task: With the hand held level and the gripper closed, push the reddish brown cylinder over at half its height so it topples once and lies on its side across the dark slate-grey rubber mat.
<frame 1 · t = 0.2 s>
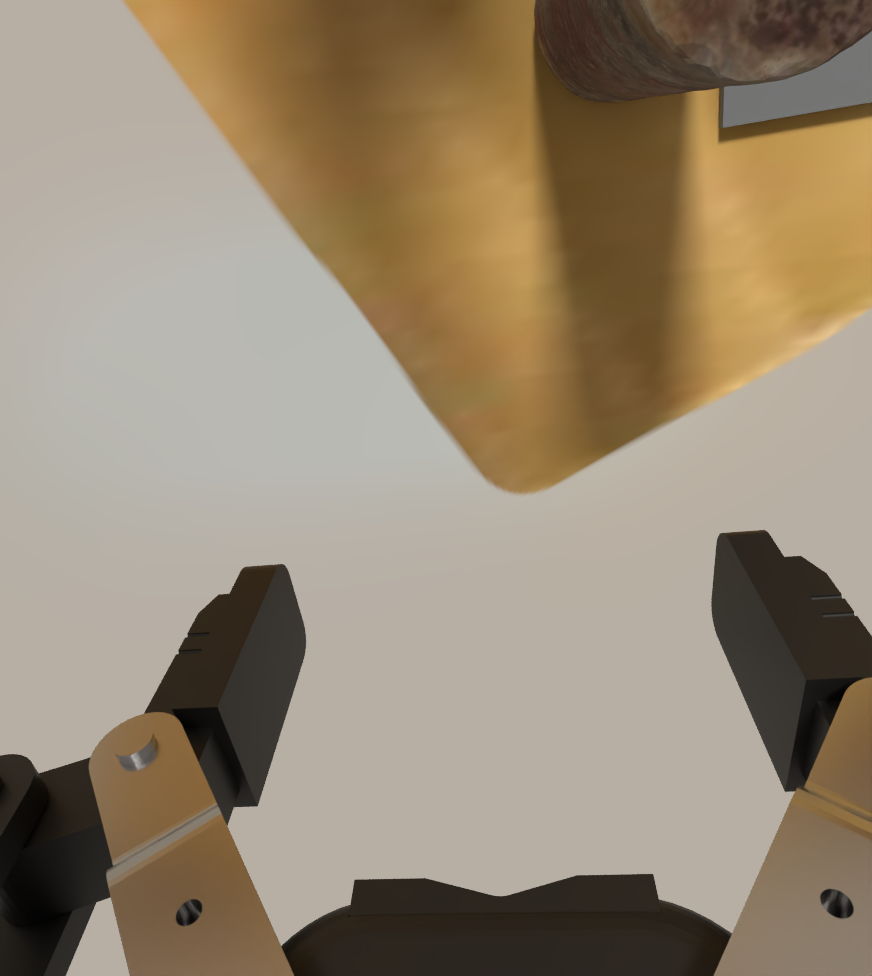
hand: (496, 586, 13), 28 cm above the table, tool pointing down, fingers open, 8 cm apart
reddish brown cylinder: (611, 16, 32), on the table
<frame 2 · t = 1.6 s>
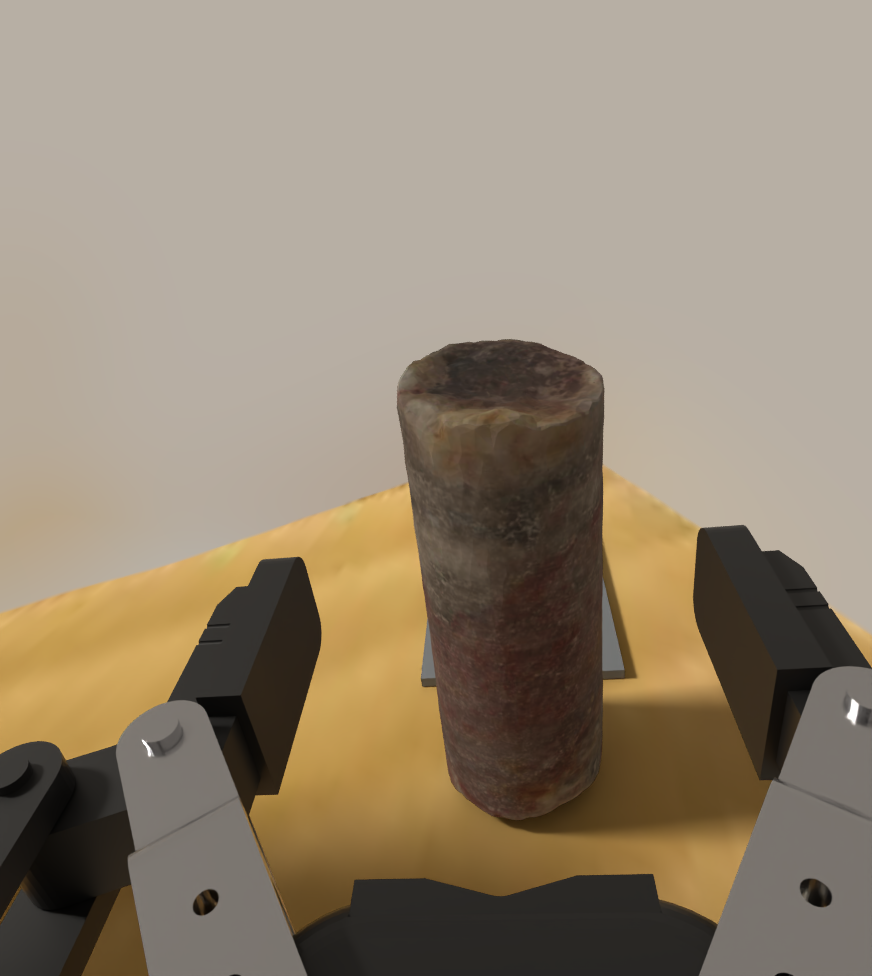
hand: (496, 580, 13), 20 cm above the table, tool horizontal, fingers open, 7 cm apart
reddish brown cylinder: (526, 762, 33), on the table
mat: (516, 599, 43), on the table
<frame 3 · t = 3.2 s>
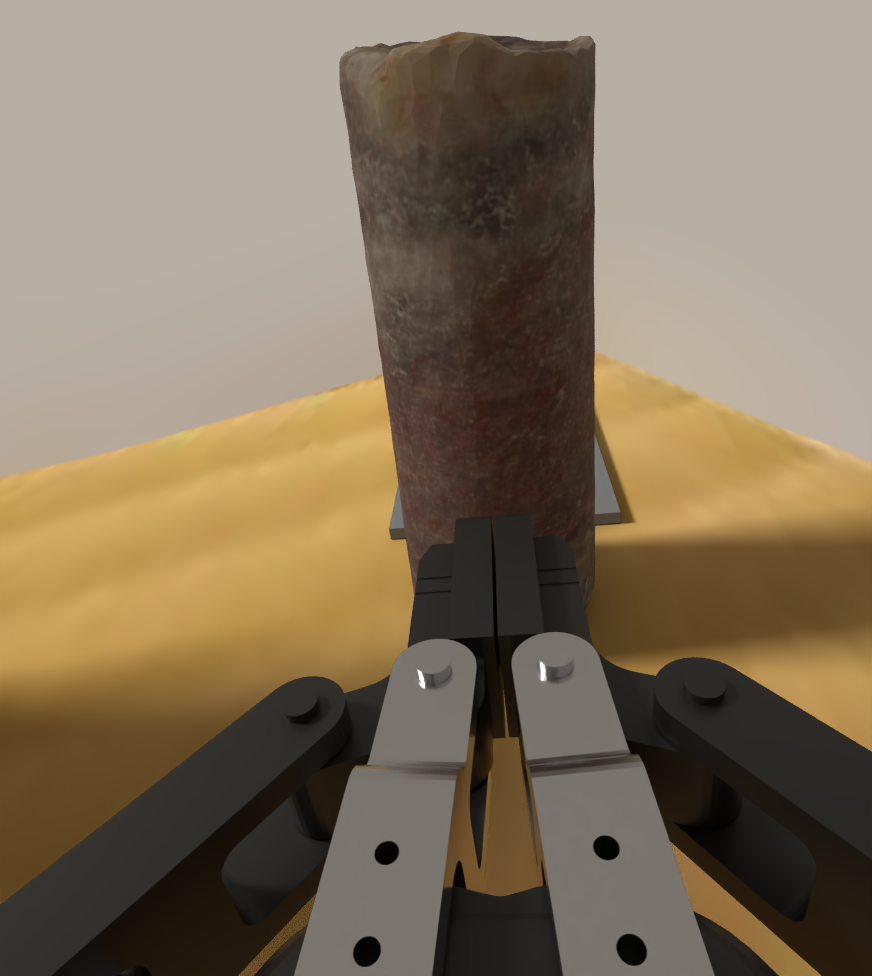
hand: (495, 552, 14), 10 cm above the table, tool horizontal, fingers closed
reddish brown cylinder: (507, 602, 29), on the table
mat: (500, 462, 39), on the table
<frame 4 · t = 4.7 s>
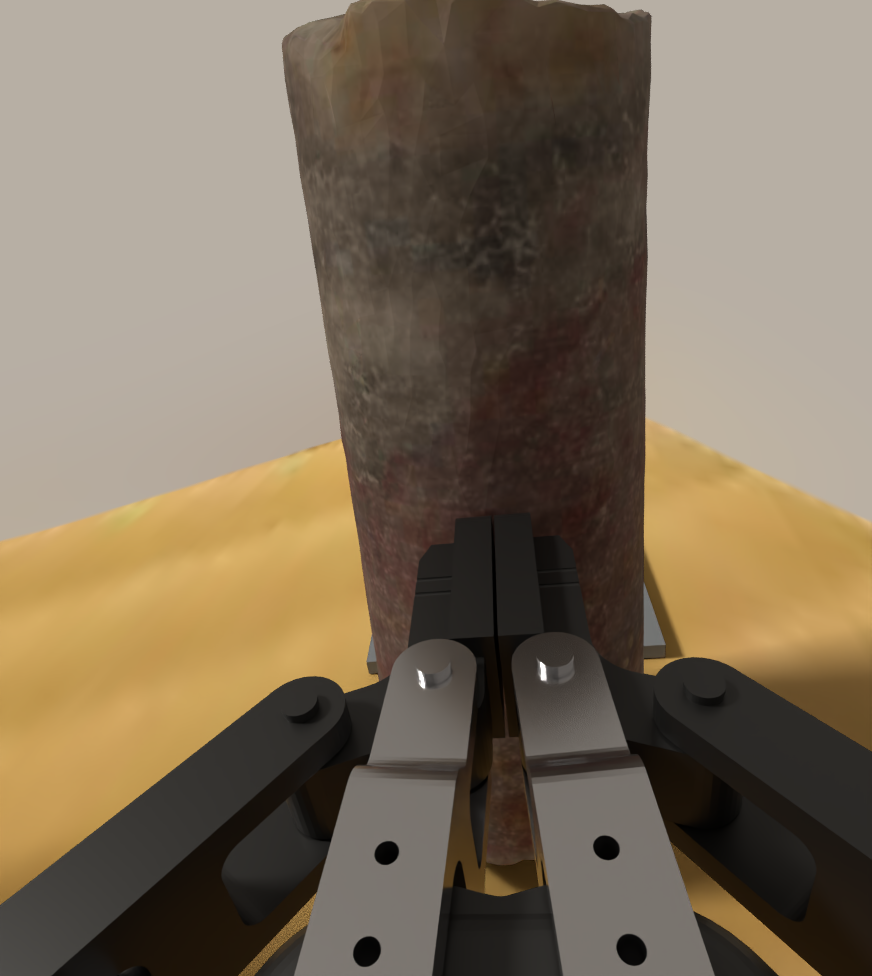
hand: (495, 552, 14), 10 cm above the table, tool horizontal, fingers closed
reddish brown cylinder: (520, 779, 21), on the table
mat: (506, 557, 32), on the table
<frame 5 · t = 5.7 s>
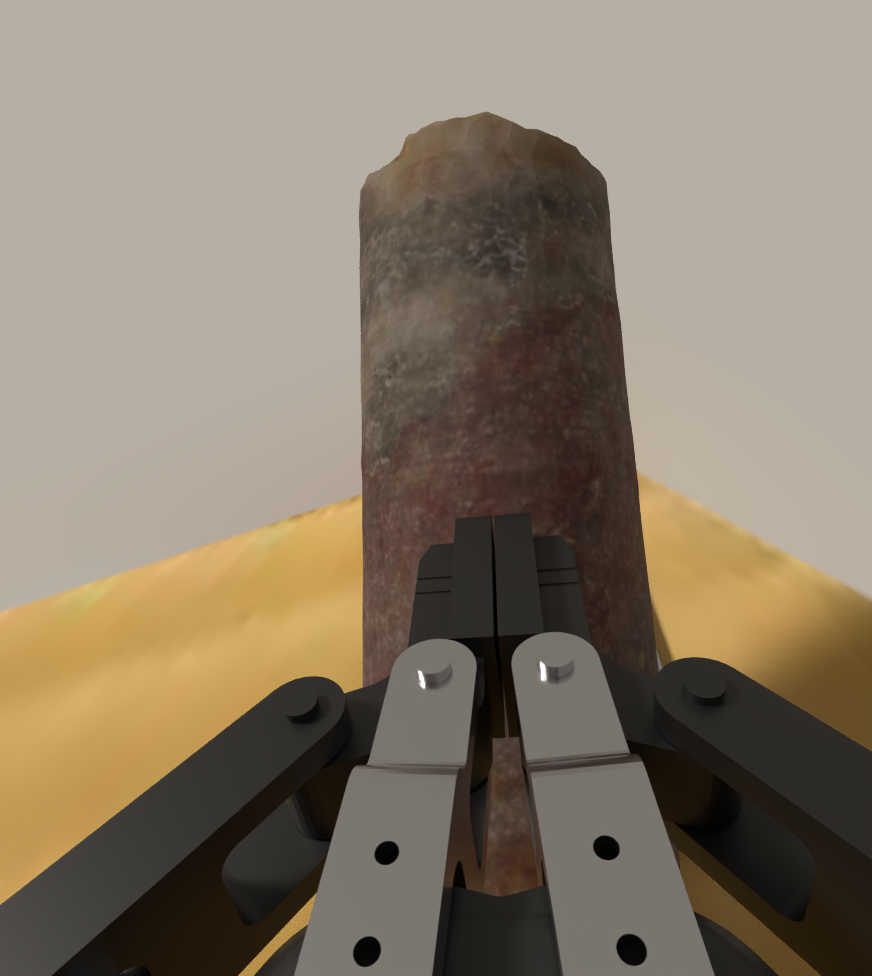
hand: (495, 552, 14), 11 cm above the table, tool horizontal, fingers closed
reddish brown cylinder: (528, 948, 16), point 2 cm above the table, touching gripper
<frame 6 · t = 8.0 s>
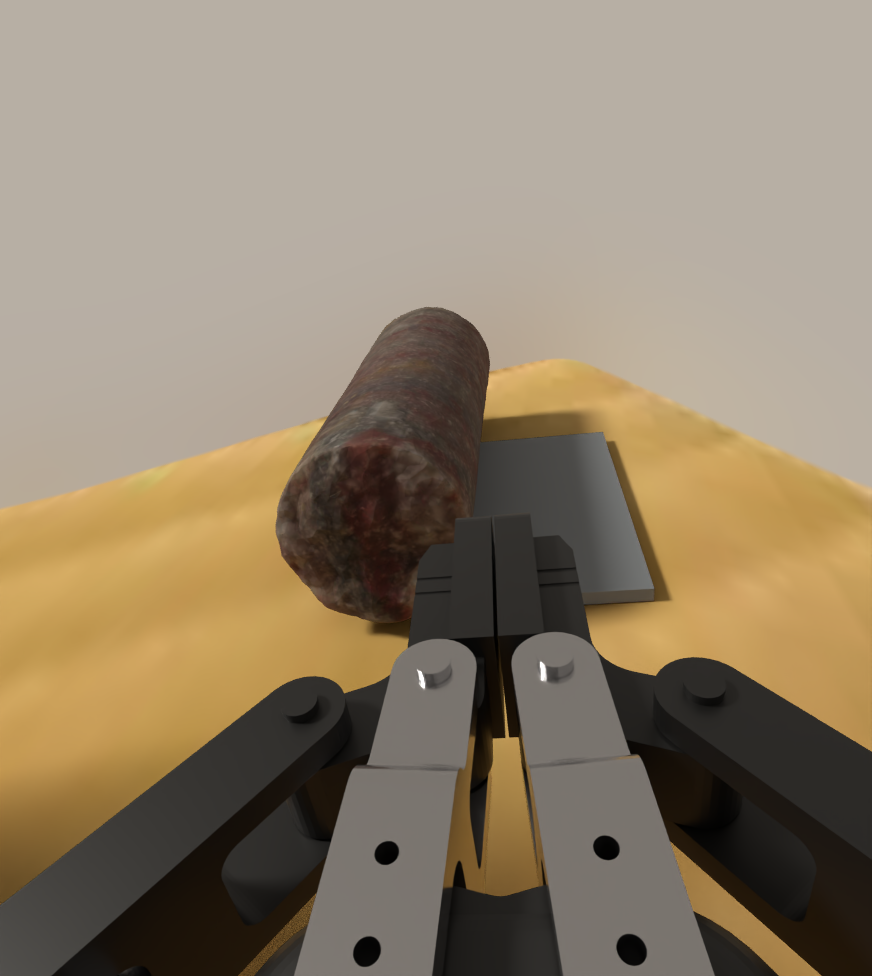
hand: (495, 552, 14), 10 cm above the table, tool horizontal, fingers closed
reddish brown cylinder: (368, 549, 24), point 4 cm above the table, touching mat
mat: (508, 514, 33), on the table
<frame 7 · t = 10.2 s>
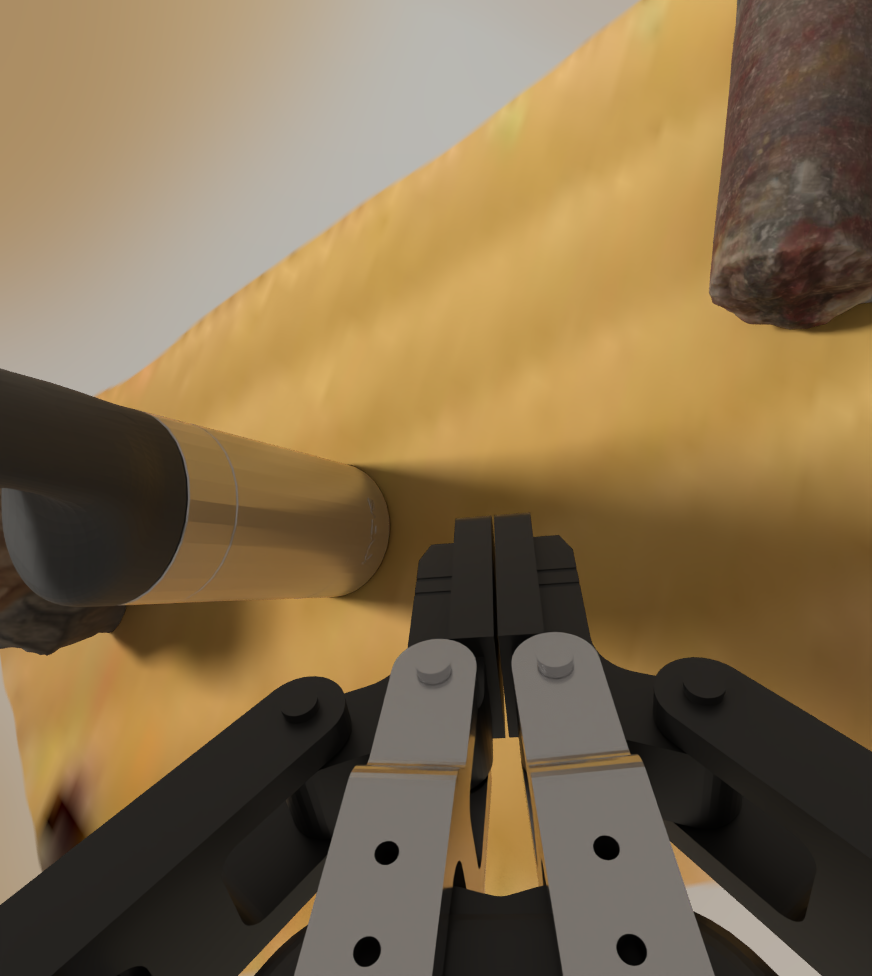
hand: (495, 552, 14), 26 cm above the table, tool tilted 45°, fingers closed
reddish brown cylinder: (794, 308, 32), point 4 cm above the table, touching mat
dark brown rough block: (117, 551, 57), on the table
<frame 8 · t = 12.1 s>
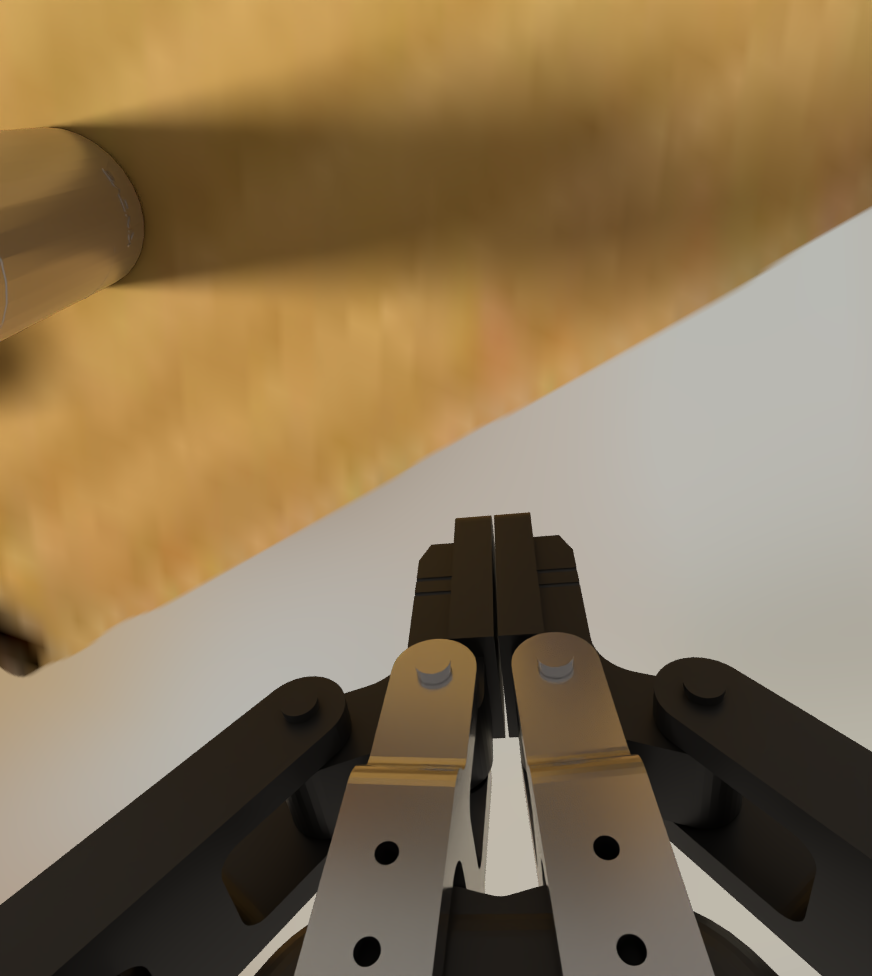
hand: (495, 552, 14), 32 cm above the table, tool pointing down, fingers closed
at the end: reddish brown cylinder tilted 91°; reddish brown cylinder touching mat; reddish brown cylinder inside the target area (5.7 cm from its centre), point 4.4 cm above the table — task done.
